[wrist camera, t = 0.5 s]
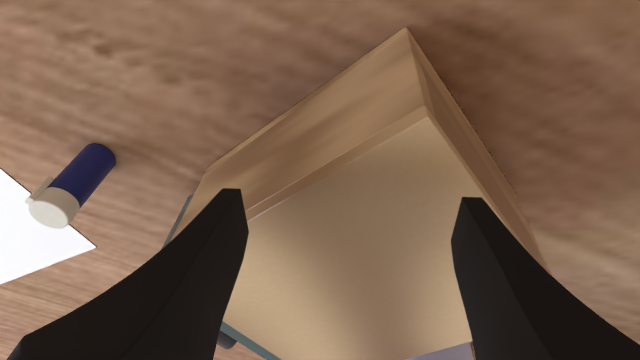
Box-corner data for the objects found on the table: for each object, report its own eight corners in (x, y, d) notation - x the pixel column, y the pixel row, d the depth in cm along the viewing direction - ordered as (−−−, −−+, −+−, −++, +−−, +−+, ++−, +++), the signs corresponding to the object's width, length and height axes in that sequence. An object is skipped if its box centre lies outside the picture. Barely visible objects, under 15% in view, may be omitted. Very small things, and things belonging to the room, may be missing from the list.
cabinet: (328, 272, 31) (319, 384, 25) (207, 166, 26) (152, 276, 19) (513, 190, 25) (569, 314, 18) (405, 25, 19) (428, 116, 12)
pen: (105, 174, 27) (56, 234, 23) (73, 150, 26) (16, 209, 21) (123, 159, 26) (75, 219, 22) (90, 134, 25) (34, 192, 21)
